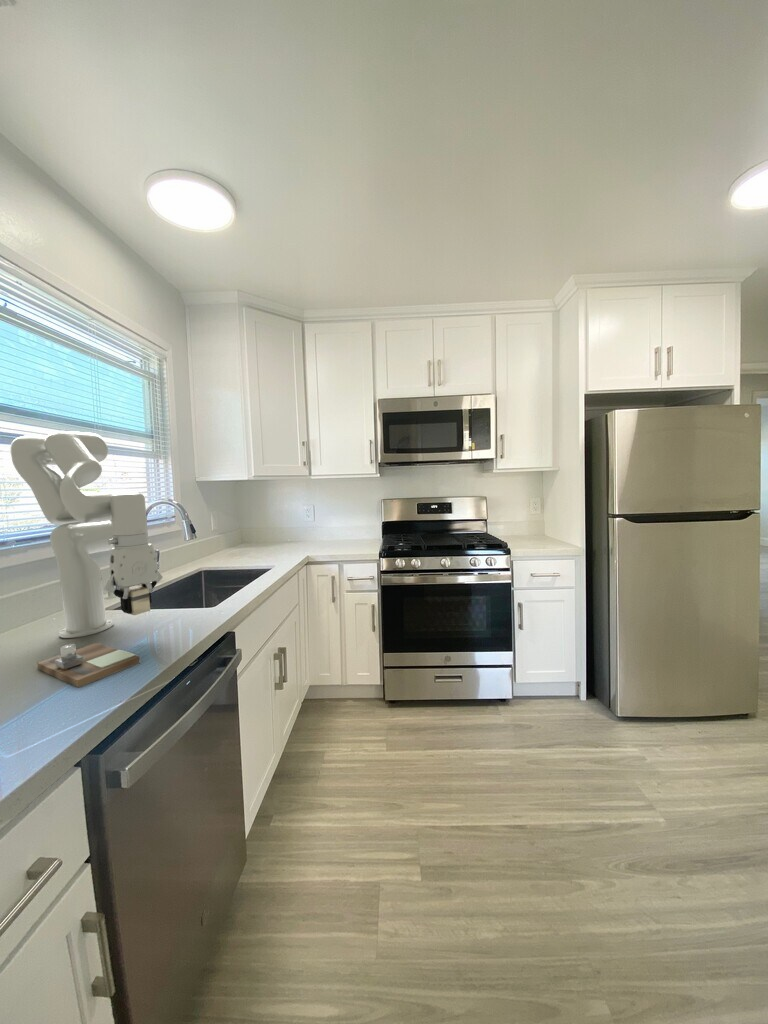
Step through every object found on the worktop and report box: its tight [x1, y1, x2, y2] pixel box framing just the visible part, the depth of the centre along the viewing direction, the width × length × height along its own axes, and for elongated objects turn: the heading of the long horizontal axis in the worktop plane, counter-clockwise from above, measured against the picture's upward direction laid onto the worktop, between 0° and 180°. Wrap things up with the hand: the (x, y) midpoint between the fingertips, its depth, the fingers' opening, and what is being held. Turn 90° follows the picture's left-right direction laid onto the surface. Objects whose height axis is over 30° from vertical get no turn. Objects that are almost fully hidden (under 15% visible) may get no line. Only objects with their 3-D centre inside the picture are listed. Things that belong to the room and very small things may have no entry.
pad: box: [86, 649, 137, 668], centre depth 90 cm, size 7×7×1 cm
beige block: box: [128, 585, 151, 616], centre depth 104 cm, size 5×4×6 cm
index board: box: [36, 642, 141, 688], centre depth 90 cm, size 20×12×2 cm, turn 59°
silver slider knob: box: [55, 643, 84, 670], centre depth 87 cm, size 4×4×4 cm
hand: (137, 609), depth 104 cm, fingers closed on beige block, 4 cm apart
